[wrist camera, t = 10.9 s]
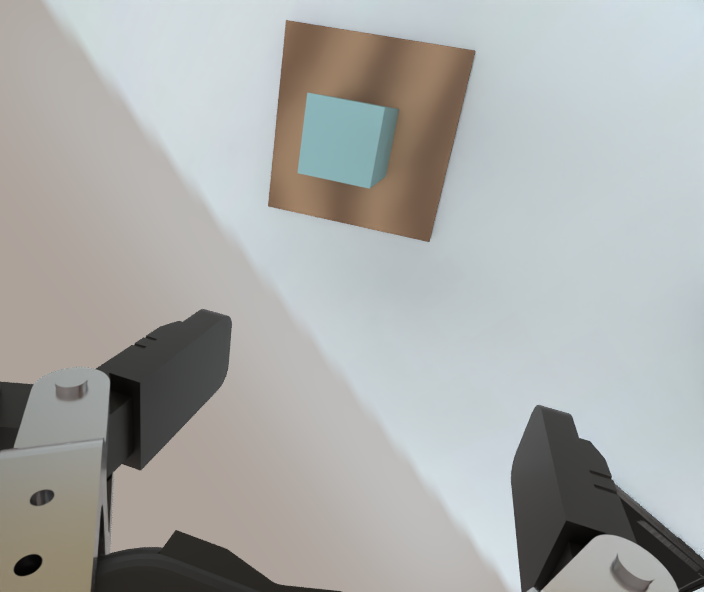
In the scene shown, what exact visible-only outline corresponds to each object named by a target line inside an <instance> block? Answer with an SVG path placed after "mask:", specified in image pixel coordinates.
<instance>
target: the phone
mask: <svg viewBox="0 0 704 592" xmlns="http://www.w3.org/2000/svg"><path fill="white" fill-rule="evenodd" d="M615 486H616V489H617V495H619V497H620V500H621V502H622V505H623V508H624V510H625V513H626V516H627V518H628V521H629V523H630V526H631V529H632V531H633V534H634V537H635V539H636V542H637V545H639V546H641V547H642V548H643V549H645V550H646V551H648V552H649V553H650V554H652V555H653V556H654V557H655V558H656V559H657V560H658V561H659V562H660V563H661V564H662V565H663V566H664V567H665V568H666V569H667V571H668V572H669V573H670V575H671V576H672V578H673V579H674V581H675V583H676V585H677V588H678V591H679V592H693V591H695V590H697V589H700V588H702V587H704V560H703V559H702V558H701V557H700V556H699V555H697V554H696V553H695V552H694V551H693V550H692V549H691V548H690V547H689V546H687V545H686V544H685V543H684V542H683V541H682V540H681V539H679V538H678V537H676V536H675V535H674V534H673V533H672V532H671V531H669V530H668V529H667V528H666V527H665V526H663V525H662V524H661V523H660V522H659V521H658V520H656V519H655V518H654V517H653V516H652V515H651V514H649V513H648V512H647V511H646V510H645V509H644V508H642V507H641V506H640V505H639V504H638V503H637V502H635V501H634V500H633V499H632V498H631V497H630V496H628V495H627V494H626V493H625V492H624V491H623V490H621V489H620V488H619V487H618V486H617V485H615Z"/></svg>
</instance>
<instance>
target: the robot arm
mask: <svg viewBox="0 0 704 592" xmlns="http://www.w3.org/2000/svg"><path fill="white" fill-rule="evenodd" d="M231 328H232V322H231V318H230V317H229V316H226V315H223V314H219V313H216V312H212V311H208V310H205V309H201V310H199V311H198V312H196V313H195V314H194V315H192V316H191V317H189V318H188V319H186V320H185V321H183V322H181V321H177V322H174V323H170V324H167V325H164V326H161V327H159V328H157V329H156V330H154V331H153V332H151V333H150V334H148V335H147V336H146V338H142V339H140V340H139V341H138V342H136V343H135V345H134V346H133V345H131V346H130V347H128V348H127V349H125V350H124V351H122V352H121V353H119V354H118V355H116V356H115V357H113V358H111V359H110V360H108V361H107V362H105V363H104V364H102V365H101V366H99V367H98V368H96V369H92V368H85V367H75V368H67V369H62V370H58V371H55V372H52V373H50V374H47V375H45V376H44V377H42V378H40V379H39V380H38V381H37V382H36V383H35V384H22V383H9V382H0V592H341V591H333V590H323V589H313V588H304V587H295V586H285V585H279V584H276V583H274V582H272V581H271V580H269V579H268V578H267V577H265V576H264V575H262V574H261V573H259V572H258V571H256V570H255V569H254V568H252V567H251V566H250V565H248V564H247V563H246V562H244V561H243V560H242V559H240V558H238V557H237V556H236V555H235V554H233V553H232V552H230V551H229V550H228V549H225V548H223V547H220V546H217V545H215V544H211V543H209V542H207V541H204V540H201V539H198V538H196V537H193V536H191V535H188V534H185V533H182V532H180V531H177V530H176V531H175V532H174V533H173V535H172V536H171V537H170V539H169V540H168V542H167V543H166V544H165V546H164V547H163V548H161V547H142V548H134V549H127V550H122V551H118V552H114V553H110V545H111V524H112V502H113V472H114V471H115V470H116V469H117V468H118V467H119V466H120V465H121V464H124V465H127V466H129V467H132V468H135V469H138V470H142V469H143V468H144V467H145V465H146V464H148V462H149V461H150V460H151V459H152V458H153V457H154V456H155V455H156V454H157V453H158V452H159V451H160V450H161V449H162V448H163V447H164V446H165V445H166V444H167V443H168V442H169V440H170V439H171V438H172V437H173V436H174V435H175V434H176V433H177V432H178V431H179V430H180V429H181V428H182V427H183V426H184V425H185V424H186V423H187V422H188V421H189V420H190V419H191V417H192V416H193V415H194V414H195V413H196V412H197V411H198V410H199V409H200V408H201V407H202V406H203V405H204V404H205V403H206V402H207V401H208V400H209V399H210V397H212V396H213V394H214V393H215V392H216V391H217V390H218V389H219V388H220V387H221V385H222V384H223V382H224V379H225V377H226V374H227V371H228V364H229V352H230V340H231ZM611 477H612V476H611V473H610V471H609V468H608V465H607V463H606V460H605V458H604V457H603V456H602V455H601V454H600V452H599V451H598V450H597V449H596V448H595V447H594V445H593V444H592V443H591V442H590V441H587V440H584V439H580V438H579V436H578V433H577V430H576V427H575V424H574V421H573V418H572V416H571V414H569V413H565V412H562V411H558V410H555V409H551V408H548V407H544V406H541V405H537V406H536V407H535V408H534V410H533V412H532V414H531V417H530V419H529V422H528V424H527V427H526V429H525V432H524V434H523V437H522V439H521V442H520V444H519V447H518V449H517V452H516V454H515V457H514V461H513V465H512V471H511V486H512V496H513V507H514V517H515V528H516V538H517V549H518V559H519V570H520V580H521V591H522V592H679V591H678V588H677V585H676V583H675V581H674V579H673V578H672V576H671V575H670V573H669V572H668V571H667V569H666V568H665V567H664V566H663V565H662V564H661V563H660V562H659V561H658V560H657V559H656V558H655V557H654V556H653V555H652V554H650V553H649V552H648V551H646V550H645V549H643V548H642V547H641V546H639V545H637V542H636V539H635V537H634V534H633V531H632V529H631V526H630V523H629V521H628V518H627V516H626V513H625V510H624V508H623V505H622V502H621V500H620V497H619V495H617V489H616V486H615V484H614V481H613V480H611Z"/></svg>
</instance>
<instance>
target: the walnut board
mask: <svg viewBox="0 0 704 592" xmlns="http://www.w3.org/2000/svg"><path fill="white" fill-rule="evenodd" d="M474 55H475V51H474V50H468V49H461V48H455V47H449V46H443V45H437V44H430V43H424V42H418V41H412V40H406V39H399V38H393V37H387V36H381V35H375V34H368V33H362V32H356V31H350V30H344V29H337V28H331V27H325V26H319V25H313V24H306V23H300V22H294V21H288V20H286V27H285V37H284V47H283V58H282V68H281V78H280V89H279V99H278V109H277V120H276V130H275V140H274V151H273V161H272V172H271V182H270V192H269V203H268V206H270V207H274V208H279V209H283V210H288V211H292V212H297V213H301V214H306V215H310V216H315V217H319V218H324V219H328V220H333V221H337V222H342V223H346V224H351V225H355V226H360V227H364V228H369V229H373V230H378V231H382V232H387V233H391V234H396V235H400V236H405V237H409V238H414V239H418V240H423V241H427V242H429V241H430V237H431V233H432V229H433V225H434V221H435V217H436V212H437V208H438V204H439V200H440V196H441V192H442V188H443V183H444V179H445V175H446V171H447V167H448V163H449V158H450V154H451V150H452V146H453V142H454V138H455V134H456V129H457V125H458V121H459V117H460V113H461V109H462V105H463V100H464V96H465V92H466V88H467V84H468V80H469V76H470V71H471V67H472V63H473V59H474ZM307 93H313V94H320V95H326V96H332V97H338V98H343V99H349V100H354V101H359V102H364V103H370V104H375V105H380V106H386V107H391V108H396V109H399V113H398V118H397V123H396V128H395V133H394V138H393V143H392V148H391V153H390V159H389V164H388V169H387V174H386V177H384V178H383V179H382V180H380V181H379V182H378V183H377V184H375V185H374V186H373V187H371V188H370V189H369V188H365V187H360V186H355V185H351V184H346V183H341V182H337V181H332V180H327V179H323V178H318V177H313V176H309V175H304V174H299V173H298V165H299V157H300V149H301V141H302V132H303V124H304V116H305V108H306V100H307Z"/></svg>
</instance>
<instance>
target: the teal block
mask: <svg viewBox="0 0 704 592" xmlns="http://www.w3.org/2000/svg"><path fill="white" fill-rule="evenodd" d="M398 113H399V109H396V108H391V107H386V106H380V105H375V104H370V103H364V102H359V101H354V100H349V99H343V98H338V97H332V96H326V95H320V94H313V93H307V100H306V108H305V116H304V124H303V132H302V141H301V149H300V157H299V165H298V173H299V174H304V175H309V176H313V177H318V178H323V179H327V180H332V181H337V182H341V183H346V184H351V185H355V186H360V187H365V188H369V189H370V188H371V187H373V186H374V185H375V184H377V183H378V182H379V181H380V180H382V179H383V178H384V177H386V174H387V169H388V164H389V159H390V153H391V148H392V143H393V138H394V133H395V128H396V123H397V118H398Z"/></svg>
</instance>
